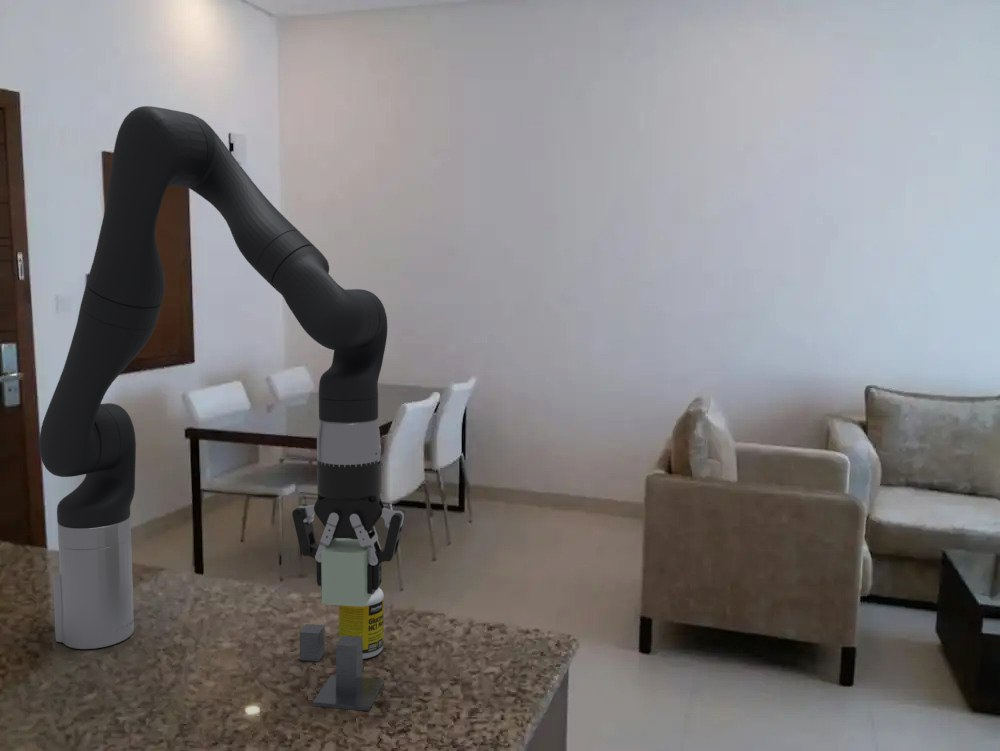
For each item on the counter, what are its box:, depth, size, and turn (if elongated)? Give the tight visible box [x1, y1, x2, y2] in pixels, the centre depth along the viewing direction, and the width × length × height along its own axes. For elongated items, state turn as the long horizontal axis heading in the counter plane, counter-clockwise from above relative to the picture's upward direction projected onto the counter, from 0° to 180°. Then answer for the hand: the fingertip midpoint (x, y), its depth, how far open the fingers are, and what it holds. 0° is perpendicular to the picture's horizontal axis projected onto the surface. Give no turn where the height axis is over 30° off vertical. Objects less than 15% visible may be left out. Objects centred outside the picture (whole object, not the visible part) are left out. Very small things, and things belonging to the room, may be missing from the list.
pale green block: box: [321, 537, 373, 607], centre depth 102 cm, size 5×5×7 cm
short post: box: [299, 623, 326, 663], centre depth 114 cm, size 3×3×4 cm
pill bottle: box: [338, 587, 385, 660], centre depth 116 cm, size 6×6×11 cm
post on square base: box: [312, 636, 385, 712], centre depth 104 cm, size 7×7×7 cm
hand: (349, 589), depth 102 cm, fingers closed on pale green block, 5 cm apart
